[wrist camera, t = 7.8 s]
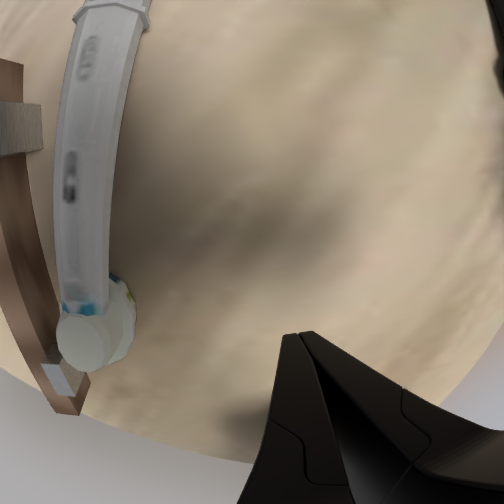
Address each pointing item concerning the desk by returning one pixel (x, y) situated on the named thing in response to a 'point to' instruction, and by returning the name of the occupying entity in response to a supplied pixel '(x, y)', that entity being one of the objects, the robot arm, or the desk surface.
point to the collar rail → (29, 253)
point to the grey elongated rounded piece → (93, 182)
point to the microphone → (499, 13)
